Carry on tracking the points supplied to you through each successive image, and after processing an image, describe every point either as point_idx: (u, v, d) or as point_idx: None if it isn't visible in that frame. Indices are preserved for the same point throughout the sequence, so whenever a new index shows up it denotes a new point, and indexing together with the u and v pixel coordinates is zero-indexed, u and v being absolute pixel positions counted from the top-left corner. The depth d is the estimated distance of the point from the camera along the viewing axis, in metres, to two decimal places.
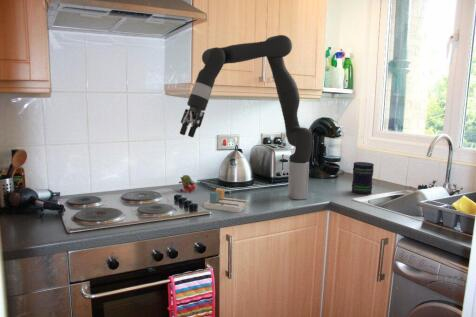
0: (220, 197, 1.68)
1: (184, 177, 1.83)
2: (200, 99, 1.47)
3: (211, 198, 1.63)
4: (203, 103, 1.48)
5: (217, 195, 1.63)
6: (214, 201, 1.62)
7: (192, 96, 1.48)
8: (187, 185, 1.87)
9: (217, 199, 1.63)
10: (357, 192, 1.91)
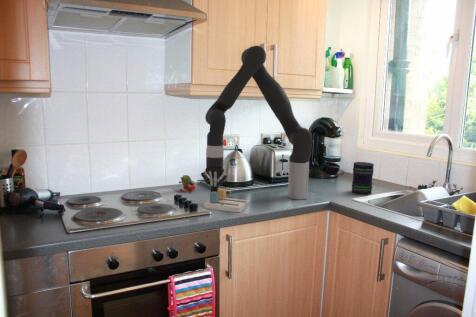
0: (222, 197, 1.67)
1: (184, 177, 1.83)
2: (221, 159, 1.66)
3: (211, 198, 1.63)
4: None
5: (217, 195, 1.63)
6: (214, 201, 1.62)
7: (214, 159, 1.64)
8: (187, 185, 1.87)
9: (217, 199, 1.63)
10: (357, 192, 1.91)
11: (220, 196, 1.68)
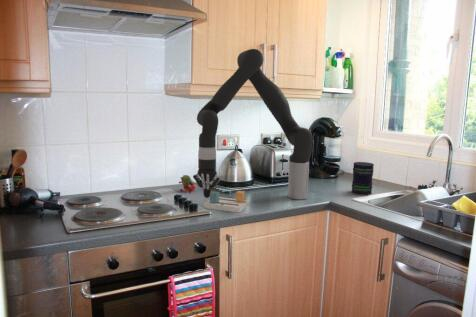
0: (241, 199, 1.65)
1: (184, 177, 1.83)
2: (214, 161, 1.61)
3: (211, 198, 1.63)
4: (215, 163, 1.62)
5: (217, 195, 1.63)
6: (214, 201, 1.62)
7: (206, 162, 1.59)
8: (187, 185, 1.87)
9: (217, 199, 1.63)
10: (357, 192, 1.91)
11: (239, 198, 1.65)
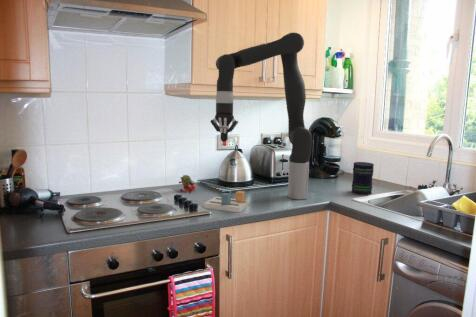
0: (241, 199, 1.65)
1: (184, 177, 1.83)
2: (231, 105, 1.66)
3: (223, 200, 1.61)
4: (232, 107, 1.68)
5: (229, 196, 1.61)
6: (226, 202, 1.60)
7: (224, 105, 1.64)
8: (187, 185, 1.87)
9: (229, 200, 1.61)
10: (357, 192, 1.91)
11: (239, 198, 1.65)
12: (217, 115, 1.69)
